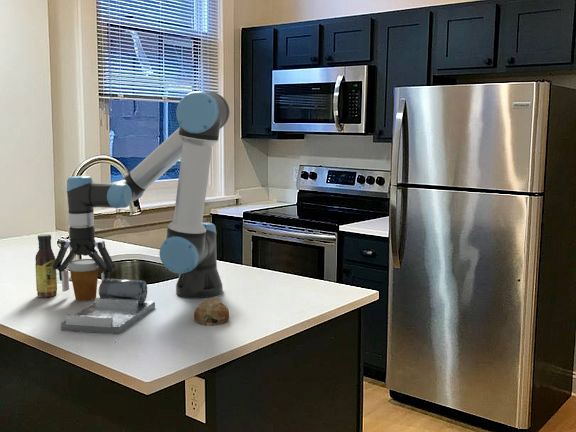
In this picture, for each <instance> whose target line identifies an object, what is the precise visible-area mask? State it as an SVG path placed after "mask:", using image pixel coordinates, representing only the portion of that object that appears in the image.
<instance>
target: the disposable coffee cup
mask: <svg viewBox="0 0 576 432" xmlns="http://www.w3.org/2000/svg"><path fill="white" fill-rule="evenodd" d="M67 267H68V271H69V273H70V278H71V283H72V287H73V293H74V298H75V300H76V301H77V302H89V301H90V302H91V301H95V298H97V291H98V279H99V277H98V276H99V269H100V267H99V266H98V265H97V264H96V263H95V261H94V260H93V259H92V258H79V259H73V260H72V261H71V262H70V263H69V265H68V266H67Z"/></svg>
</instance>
